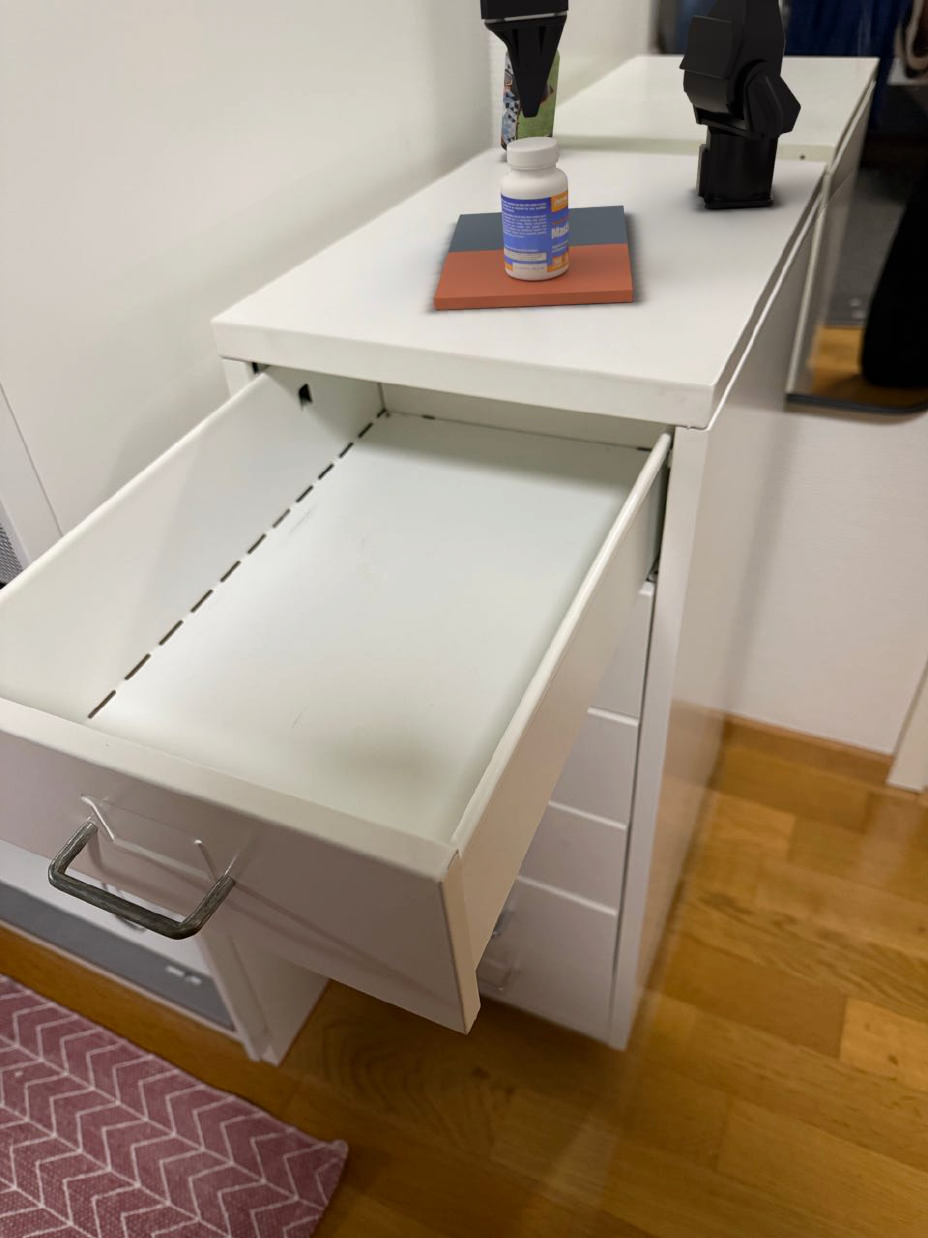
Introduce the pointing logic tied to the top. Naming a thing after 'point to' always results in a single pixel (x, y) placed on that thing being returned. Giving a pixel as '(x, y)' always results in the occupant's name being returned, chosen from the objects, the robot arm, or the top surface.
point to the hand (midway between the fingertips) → (531, 103)
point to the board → (588, 279)
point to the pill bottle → (535, 210)
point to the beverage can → (512, 115)
